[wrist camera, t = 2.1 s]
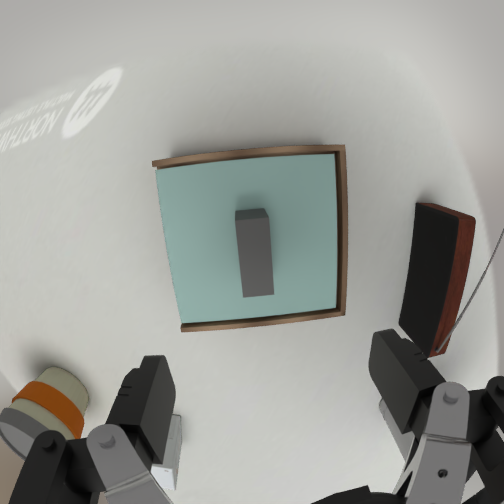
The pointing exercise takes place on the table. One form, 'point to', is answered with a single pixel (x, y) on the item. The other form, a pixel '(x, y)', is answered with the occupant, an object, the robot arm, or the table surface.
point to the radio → (437, 276)
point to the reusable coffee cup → (44, 410)
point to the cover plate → (217, 238)
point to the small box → (170, 457)
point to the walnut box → (341, 229)
